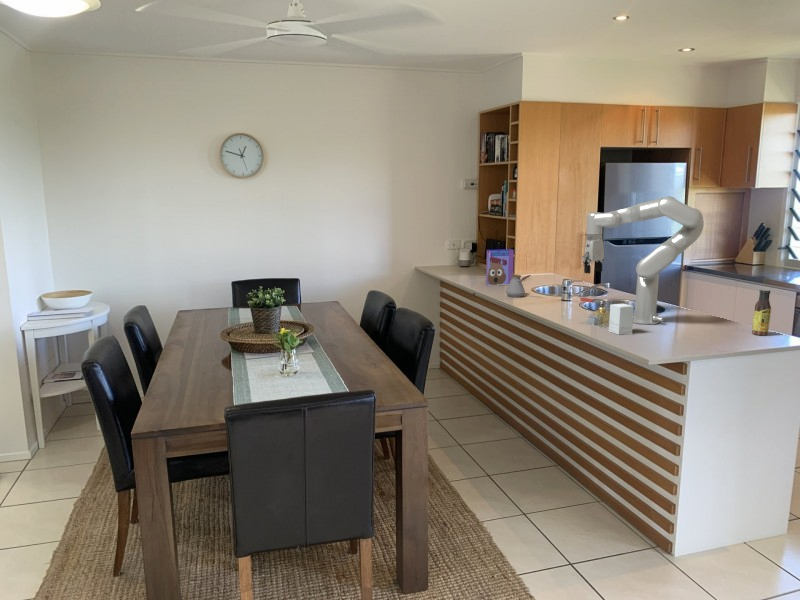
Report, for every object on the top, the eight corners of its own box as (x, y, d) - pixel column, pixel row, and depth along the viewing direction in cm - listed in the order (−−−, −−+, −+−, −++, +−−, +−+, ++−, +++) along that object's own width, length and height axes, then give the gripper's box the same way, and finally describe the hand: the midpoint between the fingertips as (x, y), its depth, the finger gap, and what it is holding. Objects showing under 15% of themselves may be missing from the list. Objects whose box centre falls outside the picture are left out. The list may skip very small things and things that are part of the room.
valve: (623, 321, 291) (624, 306, 290) (601, 327, 279) (602, 311, 278) (601, 318, 300) (601, 303, 299) (579, 323, 288) (579, 308, 287)
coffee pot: (502, 295, 366) (502, 271, 364) (518, 294, 370) (519, 270, 368) (521, 301, 347) (521, 275, 344) (538, 300, 351) (539, 274, 348)
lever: (606, 306, 288) (607, 300, 288) (603, 307, 286) (603, 301, 286) (583, 303, 298) (583, 297, 297) (579, 303, 296) (579, 298, 296)
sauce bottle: (761, 336, 261) (766, 291, 257) (748, 333, 266) (752, 289, 263) (771, 335, 263) (776, 290, 260) (758, 332, 269) (762, 288, 265)
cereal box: (488, 285, 404) (489, 250, 400) (486, 284, 408) (486, 249, 404) (512, 284, 408) (513, 249, 404) (509, 283, 412) (510, 248, 408)
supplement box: (632, 333, 267) (634, 306, 265) (618, 335, 265) (620, 307, 263) (622, 330, 274) (623, 303, 272) (608, 331, 272) (609, 304, 270)
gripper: (590, 239, 287) (589, 274, 290) (611, 236, 297) (609, 271, 300) (577, 238, 293) (576, 273, 296) (597, 236, 303) (596, 270, 306)
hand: (593, 272), depth 298 cm, fingers open, 9 cm apart
